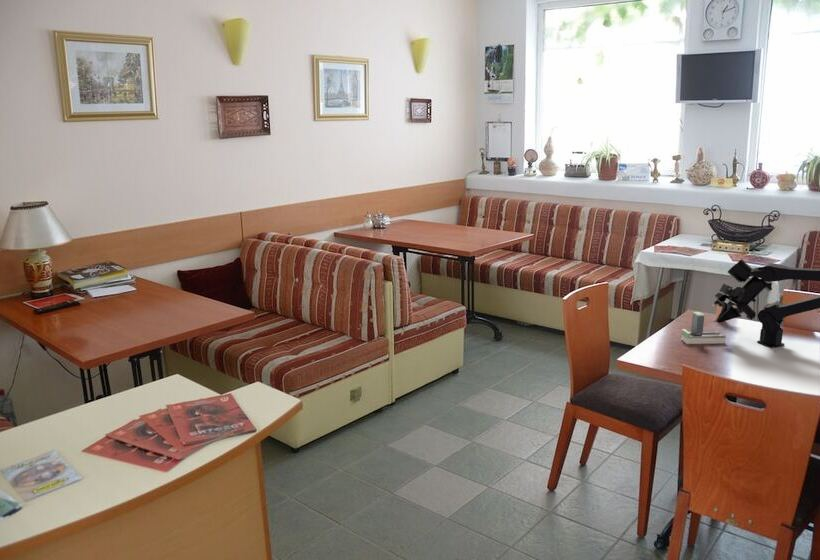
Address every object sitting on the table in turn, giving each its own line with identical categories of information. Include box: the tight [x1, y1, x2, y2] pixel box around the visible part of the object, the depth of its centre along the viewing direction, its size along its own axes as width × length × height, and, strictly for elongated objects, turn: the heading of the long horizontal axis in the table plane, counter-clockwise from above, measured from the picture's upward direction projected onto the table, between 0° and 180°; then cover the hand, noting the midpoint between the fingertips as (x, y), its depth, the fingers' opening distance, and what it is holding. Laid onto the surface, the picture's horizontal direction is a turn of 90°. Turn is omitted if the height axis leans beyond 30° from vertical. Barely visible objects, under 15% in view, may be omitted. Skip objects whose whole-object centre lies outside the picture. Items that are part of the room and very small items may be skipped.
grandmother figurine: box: [711, 292, 728, 323], centre depth 275 cm, size 8×4×13 cm, turn 68°
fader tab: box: [690, 311, 705, 336], centre depth 251 cm, size 3×4×8 cm
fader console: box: [680, 328, 726, 345], centre depth 252 cm, size 14×5×4 cm, turn 93°
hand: (717, 322), depth 251 cm, fingers closed
